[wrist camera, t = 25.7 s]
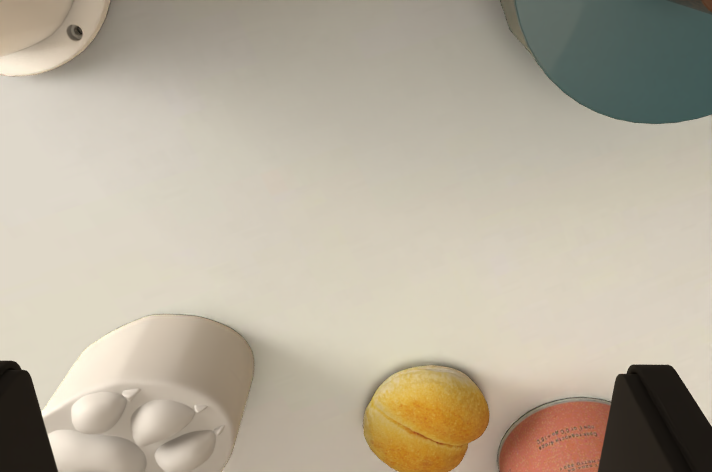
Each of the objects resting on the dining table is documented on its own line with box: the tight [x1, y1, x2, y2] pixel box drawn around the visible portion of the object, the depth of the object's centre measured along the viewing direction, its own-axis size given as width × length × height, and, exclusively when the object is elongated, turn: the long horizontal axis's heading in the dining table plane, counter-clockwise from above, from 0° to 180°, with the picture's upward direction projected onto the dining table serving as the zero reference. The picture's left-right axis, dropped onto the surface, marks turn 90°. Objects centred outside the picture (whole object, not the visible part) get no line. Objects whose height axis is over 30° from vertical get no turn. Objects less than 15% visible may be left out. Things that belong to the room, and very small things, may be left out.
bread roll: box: [363, 365, 489, 472], centre depth 47 cm, size 8×9×4 cm
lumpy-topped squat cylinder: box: [42, 314, 254, 472], centre depth 44 cm, size 10×13×9 cm
